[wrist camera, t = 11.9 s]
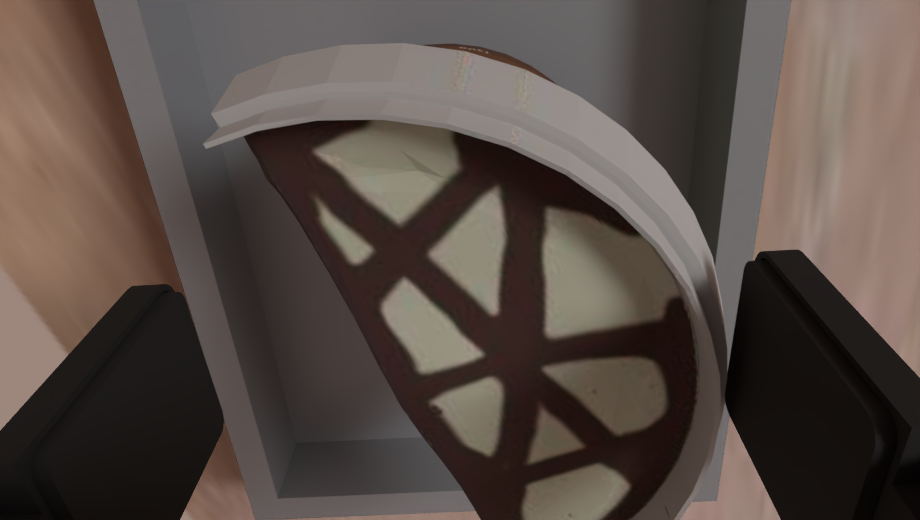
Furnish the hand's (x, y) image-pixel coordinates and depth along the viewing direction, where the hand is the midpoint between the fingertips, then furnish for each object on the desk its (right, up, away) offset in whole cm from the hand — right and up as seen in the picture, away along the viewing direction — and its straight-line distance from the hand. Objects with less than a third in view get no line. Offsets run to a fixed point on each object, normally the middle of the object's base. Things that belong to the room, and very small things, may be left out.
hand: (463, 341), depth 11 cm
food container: (+2, +4, +9) cm, 10 cm away
